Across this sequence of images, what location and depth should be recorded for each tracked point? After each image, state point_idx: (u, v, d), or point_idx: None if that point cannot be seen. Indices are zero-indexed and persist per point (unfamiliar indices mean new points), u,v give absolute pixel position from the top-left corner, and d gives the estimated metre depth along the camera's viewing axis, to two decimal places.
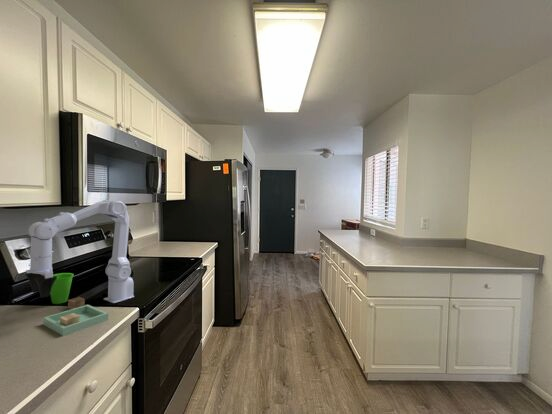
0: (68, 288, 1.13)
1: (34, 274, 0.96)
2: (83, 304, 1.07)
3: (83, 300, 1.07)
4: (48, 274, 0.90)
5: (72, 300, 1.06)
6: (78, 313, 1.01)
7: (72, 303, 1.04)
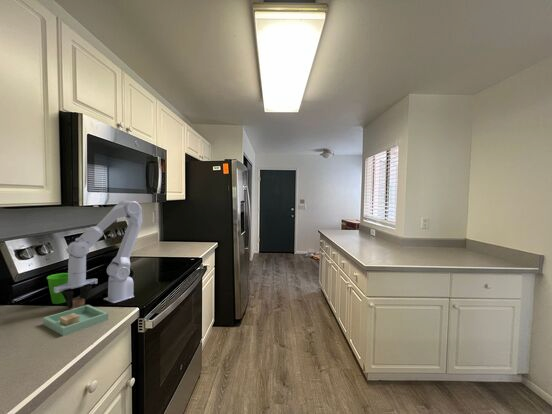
0: None
1: (81, 287, 1.09)
2: (83, 304, 1.07)
3: (83, 300, 1.07)
4: (54, 289, 1.00)
5: (72, 300, 1.06)
6: (78, 313, 1.01)
7: (72, 303, 1.04)
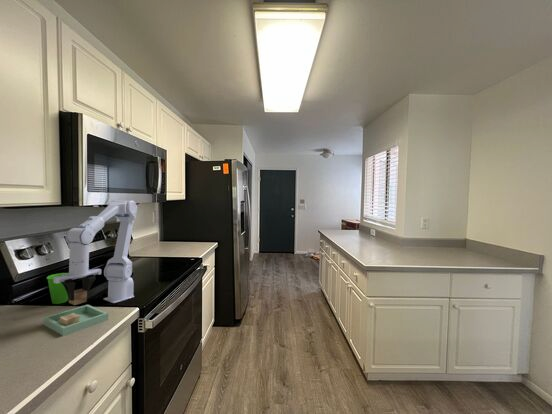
0: None
1: (84, 278, 0.99)
2: (85, 296, 0.98)
3: (85, 292, 0.98)
4: (54, 279, 0.91)
5: None
6: (78, 313, 1.01)
7: None
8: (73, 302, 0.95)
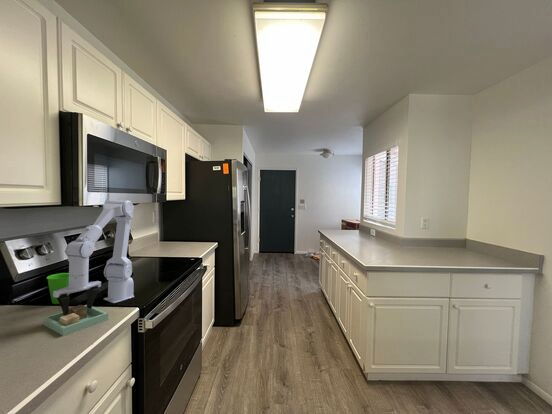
0: None
1: (88, 290, 1.01)
2: (85, 313, 0.98)
3: (85, 308, 0.98)
4: (54, 293, 0.91)
5: (73, 308, 0.96)
6: None
7: (73, 312, 0.95)
8: None
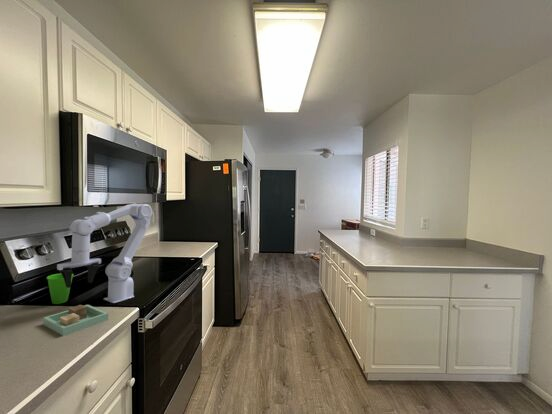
0: (68, 288, 1.13)
1: (89, 265, 1.09)
2: (85, 313, 0.98)
3: (85, 308, 0.98)
4: (57, 266, 0.99)
5: (73, 308, 0.96)
6: None
7: (73, 312, 0.95)
8: None
